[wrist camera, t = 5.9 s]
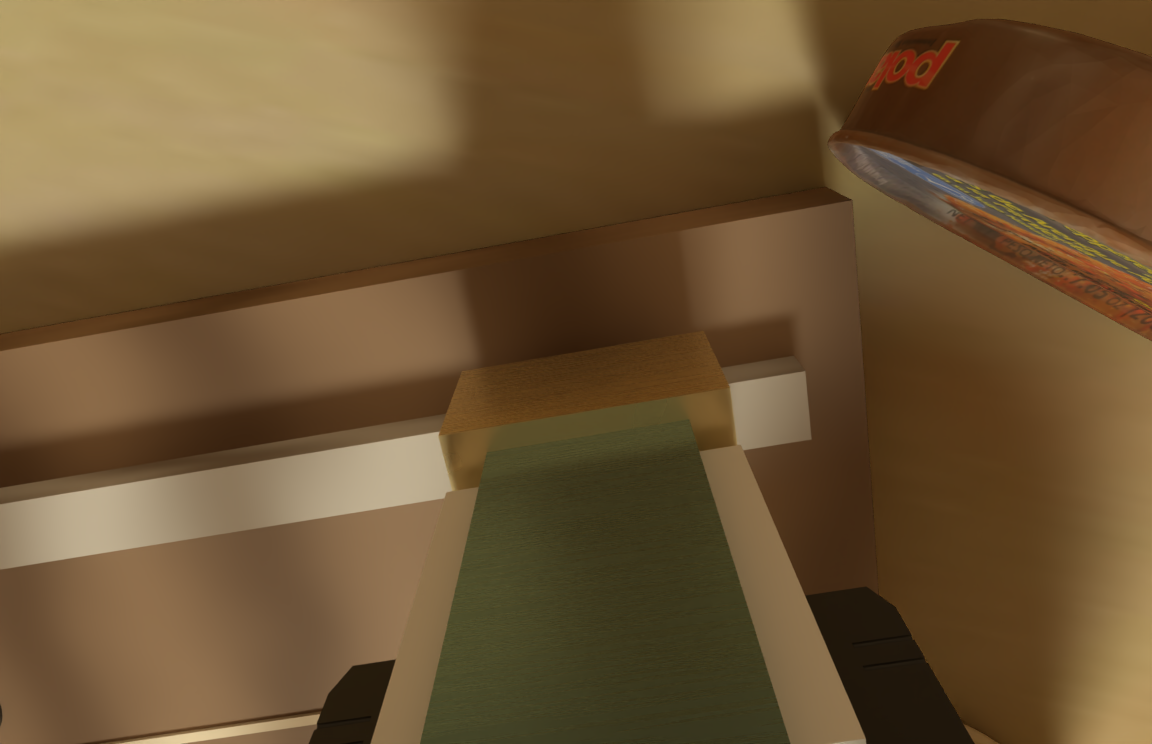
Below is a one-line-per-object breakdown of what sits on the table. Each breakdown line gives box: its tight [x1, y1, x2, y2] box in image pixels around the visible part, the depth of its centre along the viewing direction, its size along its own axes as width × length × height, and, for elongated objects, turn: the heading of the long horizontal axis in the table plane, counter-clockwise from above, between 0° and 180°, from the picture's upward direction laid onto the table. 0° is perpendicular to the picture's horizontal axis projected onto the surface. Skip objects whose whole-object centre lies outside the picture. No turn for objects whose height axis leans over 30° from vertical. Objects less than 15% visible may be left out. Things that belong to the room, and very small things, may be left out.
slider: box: [420, 331, 791, 744], centre depth 13 cm, size 5×8×13 cm, turn 10°
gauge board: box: [0, 187, 879, 744], centre depth 20 cm, size 30×12×6 cm, turn 100°
